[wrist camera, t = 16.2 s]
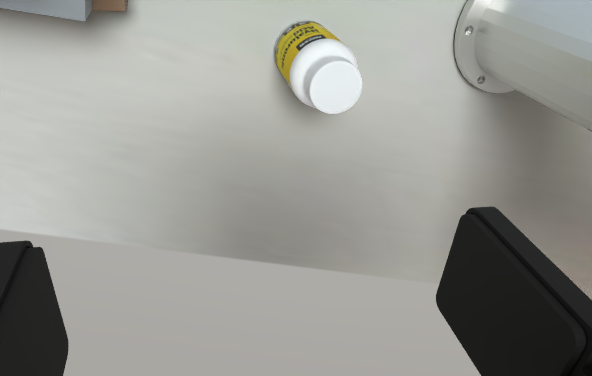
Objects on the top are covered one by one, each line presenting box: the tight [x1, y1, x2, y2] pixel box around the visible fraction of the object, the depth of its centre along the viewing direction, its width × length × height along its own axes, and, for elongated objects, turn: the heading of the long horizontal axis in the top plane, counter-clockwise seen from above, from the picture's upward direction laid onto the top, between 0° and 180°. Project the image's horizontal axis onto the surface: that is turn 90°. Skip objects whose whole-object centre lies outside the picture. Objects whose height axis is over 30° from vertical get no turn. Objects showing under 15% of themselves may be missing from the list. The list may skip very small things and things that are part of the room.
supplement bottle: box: [274, 20, 362, 114], centre depth 37 cm, size 5×5×10 cm
